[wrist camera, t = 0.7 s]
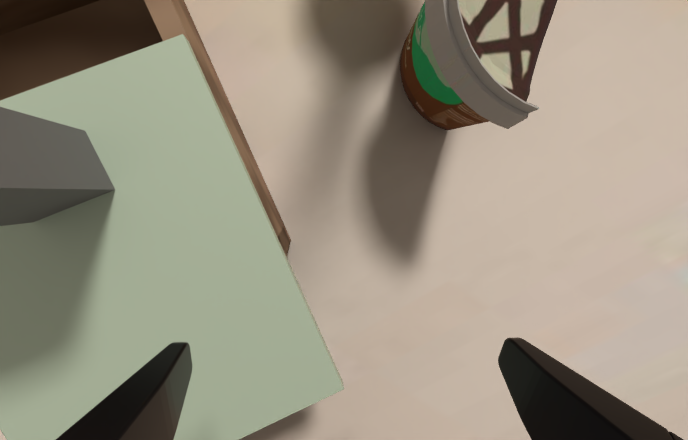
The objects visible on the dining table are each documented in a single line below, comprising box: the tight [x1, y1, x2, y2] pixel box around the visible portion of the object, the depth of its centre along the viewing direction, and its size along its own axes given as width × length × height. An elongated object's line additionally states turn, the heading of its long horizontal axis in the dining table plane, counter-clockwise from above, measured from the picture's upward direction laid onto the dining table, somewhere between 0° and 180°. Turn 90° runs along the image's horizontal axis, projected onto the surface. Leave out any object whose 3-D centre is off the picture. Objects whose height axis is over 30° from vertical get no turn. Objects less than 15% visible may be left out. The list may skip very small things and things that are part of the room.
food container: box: [400, 0, 557, 130], centre depth 19 cm, size 12×6×10 cm, turn 166°
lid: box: [0, 34, 344, 440], centre depth 12 cm, size 20×16×9 cm
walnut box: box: [0, 0, 291, 256], centre depth 19 cm, size 20×16×6 cm
